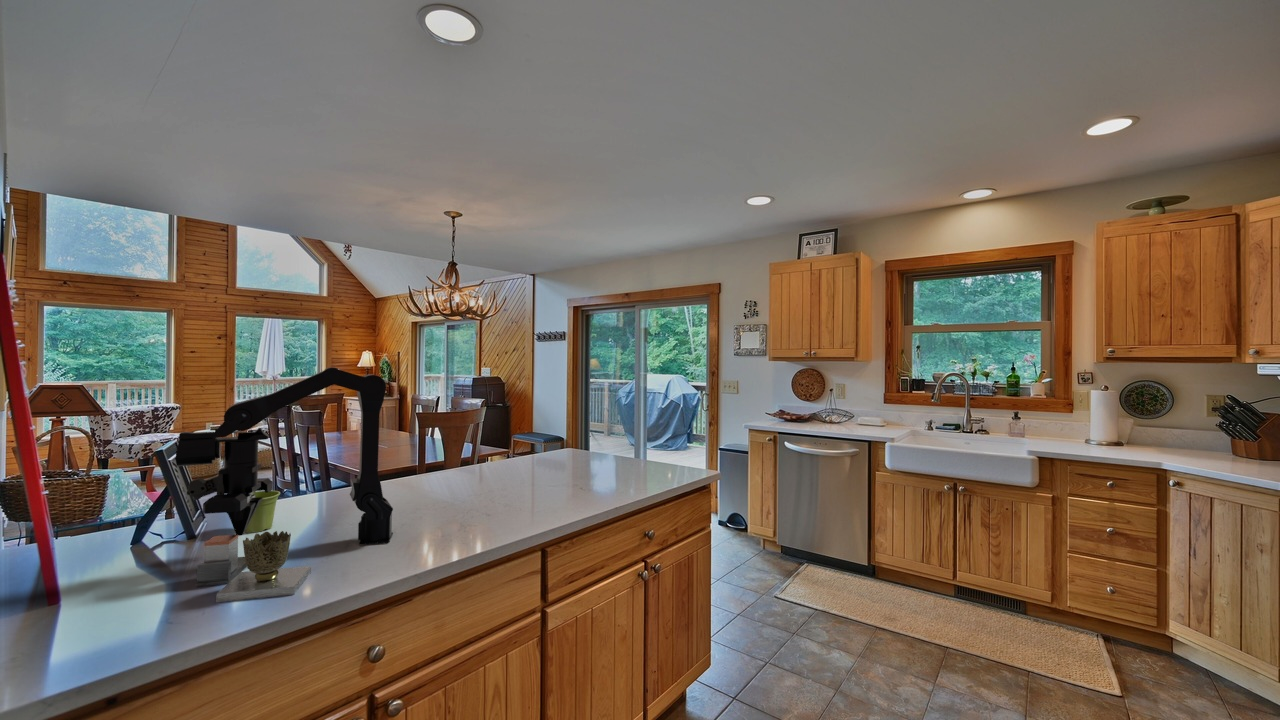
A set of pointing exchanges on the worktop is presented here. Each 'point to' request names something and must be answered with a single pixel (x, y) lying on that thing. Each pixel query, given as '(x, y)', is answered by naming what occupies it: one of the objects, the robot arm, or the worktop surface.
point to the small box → (222, 550)
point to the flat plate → (264, 585)
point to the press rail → (218, 572)
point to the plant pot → (263, 511)
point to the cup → (266, 554)
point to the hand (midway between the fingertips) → (240, 535)
